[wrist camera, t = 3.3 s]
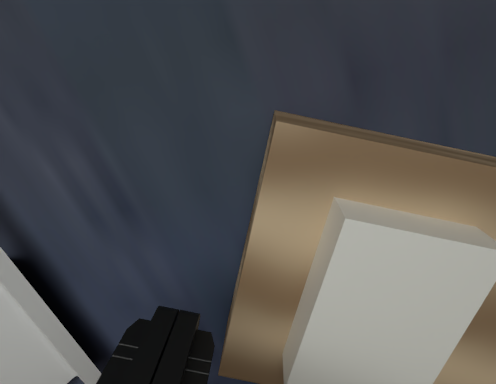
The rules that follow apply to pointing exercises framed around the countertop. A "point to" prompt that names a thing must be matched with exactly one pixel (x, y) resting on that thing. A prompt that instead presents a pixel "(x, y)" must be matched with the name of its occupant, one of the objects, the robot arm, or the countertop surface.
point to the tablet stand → (35, 337)
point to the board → (313, 221)
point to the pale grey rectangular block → (386, 297)
